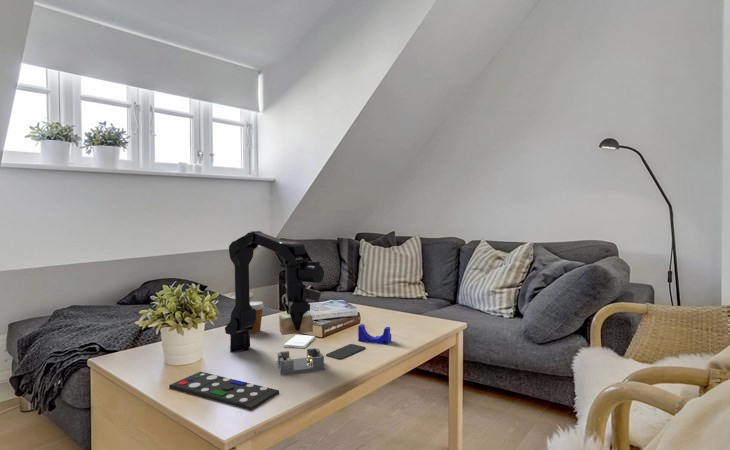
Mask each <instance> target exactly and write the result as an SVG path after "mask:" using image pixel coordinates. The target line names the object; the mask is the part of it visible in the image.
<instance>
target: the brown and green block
mask: <svg viewBox="0 0 730 450" xmlns="http://www.w3.org/2000/svg"><path fill="white" fill-rule="evenodd" d="M278 317H279V321H278V322H279V331H280V334H281V336H287V335H298V334H304V333H314V331H313V330H314V329H313V327H314V326H313V325H314V324H313V316H312V314H311V313H310V312H309V311H307V312H306V313H305V314H304V315H303V317H302V321H301V326H300V330H299V331H296V329H295V327H294V324H293V322H292V319H291V317H290V314H287V313H286V314H280V315H279V316H278Z"/></svg>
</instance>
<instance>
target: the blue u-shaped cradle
mask: <svg viewBox="0 0 730 450" xmlns="http://www.w3.org/2000/svg"><path fill="white" fill-rule="evenodd" d="M365 325H366V324H362V323H361V324H359V325H358V328H357V330H358V331H357V332H358V333H357V335H358V336H357V339H358V342H362V343H371V344H378V345H379V344H380V345H389V344H391V342H392V333H391V327H390V326H386V327H384V329H383V333H382V335H376V336H372V335H371V334H369V333H368V332H367V329H366V327H365Z"/></svg>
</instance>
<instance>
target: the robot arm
mask: <svg viewBox="0 0 730 450" xmlns="http://www.w3.org/2000/svg"><path fill="white" fill-rule="evenodd" d="M259 247H262V248H265V249H268V250H270V251H272V252H275V253H276V254H277V255H278V257H280V258H281V259H282V260H284V261H283V262H282V263H281V264H280V268H285V283H284V287H285V291H286V293H284V294H283V295H282V296H281V302H282V304H283V307H284V309H285V311H286V314H290V317H291V319H292V322H293V324H294V327H295V329H296V331H299V330H300V326H301V321H302V317H303V315H304V314H305V313H306V312H310V311H311V304H310V303H309V302H308V301H307V300H312V301H314V302H317V303H319V301H320V298H321V296H322V292H320V291H319V290H316V288H315V286H314V285H308V287H307V285H306V284H305V283H316V284H319V283H321V282H322V281H323V279H324V277H325V271H324V268H323V267H322V265H321V263H320V260H319V261H318V260H317V261H316V260H315V261H313V259H312V258H311V256H310V255H309V253H308V251H307V249H306V248H305V245H304V244H303V243H302V242H298V241H288V240H282V239H279V238H278V237H274V236H271V235H269V234H267V233H264V232H263V231H260V230H251V231H249V232H247V233H246V234H245V235H243V236H241V237H240V238H237V239H236V240H233V241H231V243H230V244H229V245H228V253H229V258H230V261H231V262H232V264H233V265H234V292H235V293H234V295H235V297H234V298H235V301H234V302H235V305H234V307H233V309H232V310H231V313H230V321H229V322H228V323H227V324H226V326H225V327H224V331H225V335H230V338H229V339H230V340H229V341H230V345H229V350H230V351H229V352H231V353H233V352H243V351H249V350H250V347H251V334H248V331H250V330H252V329H253V326H254V324H255V320H256V310H255V309H253V308H252V307H251V305H250V300H251V299H250V264H251V261H253V258H254V251H255V250H256V249H257V248H259Z"/></svg>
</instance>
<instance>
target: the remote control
mask: <svg viewBox="0 0 730 450" xmlns="http://www.w3.org/2000/svg"><path fill="white" fill-rule="evenodd" d="M168 388H169V389H172V390H175V391H178V392H182V393H185V392H186V394H190V395H193V396H197V397H200V398H204V399H207V400H212V401H215V402H218V403H223V404H227V405H228V406H229V405H230V406H234V407H237V408H240V409H241V408H242V409H243V410H247V411H248V410H249V411H253V410H255V409H256V408H258V407H260V406H261V405H263V404H264V403H266V402H267V401H270V400H271V399H272V398H274V397H276V396H277V395H279V394H280V390H279V389H276V388H271V387H267V386H264V385H258V384H254V383H250V382H247V381H243V380H238V379H234V378H229V377H225V376H220V375H216V374H212V373H209V372H204V371H199V372H196V373H193V374H192V375H189V376H186V377H184V378H182V379H180V380H177V381H175V382H173V383H171V384H169V386H168Z"/></svg>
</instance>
